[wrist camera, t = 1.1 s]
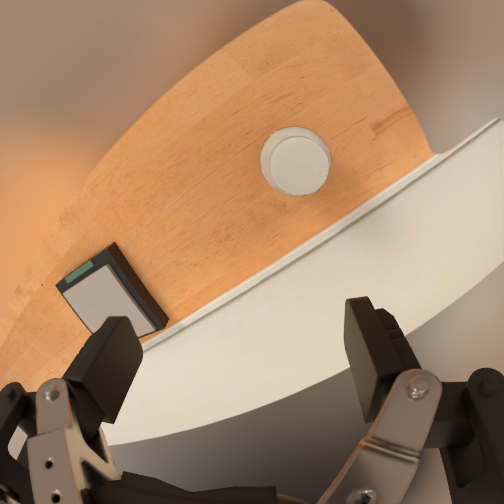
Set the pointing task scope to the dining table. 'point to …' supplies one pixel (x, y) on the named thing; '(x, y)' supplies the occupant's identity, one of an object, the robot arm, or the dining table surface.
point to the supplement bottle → (295, 161)
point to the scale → (111, 293)
